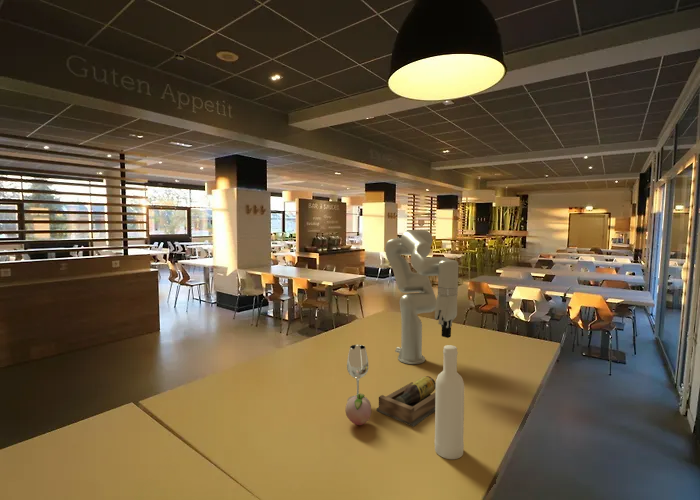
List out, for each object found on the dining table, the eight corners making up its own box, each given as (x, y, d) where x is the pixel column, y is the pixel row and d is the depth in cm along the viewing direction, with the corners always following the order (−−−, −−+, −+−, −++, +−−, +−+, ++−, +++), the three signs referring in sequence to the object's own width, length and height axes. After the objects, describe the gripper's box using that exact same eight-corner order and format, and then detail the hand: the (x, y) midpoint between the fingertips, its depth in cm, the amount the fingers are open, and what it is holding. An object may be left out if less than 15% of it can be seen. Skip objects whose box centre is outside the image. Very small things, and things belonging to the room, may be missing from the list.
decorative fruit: (346, 417, 124) (346, 388, 123) (370, 417, 124) (370, 388, 123) (344, 432, 114) (344, 401, 114) (371, 433, 114) (371, 401, 114)
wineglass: (371, 397, 138) (371, 344, 136) (365, 407, 130) (364, 351, 129) (351, 394, 140) (350, 342, 139) (344, 404, 133) (343, 349, 132)
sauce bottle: (436, 393, 139) (408, 417, 124) (422, 388, 143) (392, 410, 128) (437, 377, 138) (408, 398, 123) (422, 371, 142) (393, 392, 127)
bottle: (430, 443, 109) (432, 342, 107) (457, 442, 109) (458, 341, 107) (439, 460, 101) (441, 352, 99) (468, 459, 101) (470, 351, 99)
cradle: (376, 410, 128) (376, 396, 128) (412, 389, 144) (412, 376, 144) (413, 426, 118) (413, 410, 117) (447, 402, 134) (447, 388, 133)
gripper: (448, 287, 154) (446, 330, 156) (429, 292, 143) (427, 339, 145) (465, 289, 149) (463, 334, 151) (446, 295, 138) (445, 343, 140)
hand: (446, 336), depth 148 cm, fingers closed
